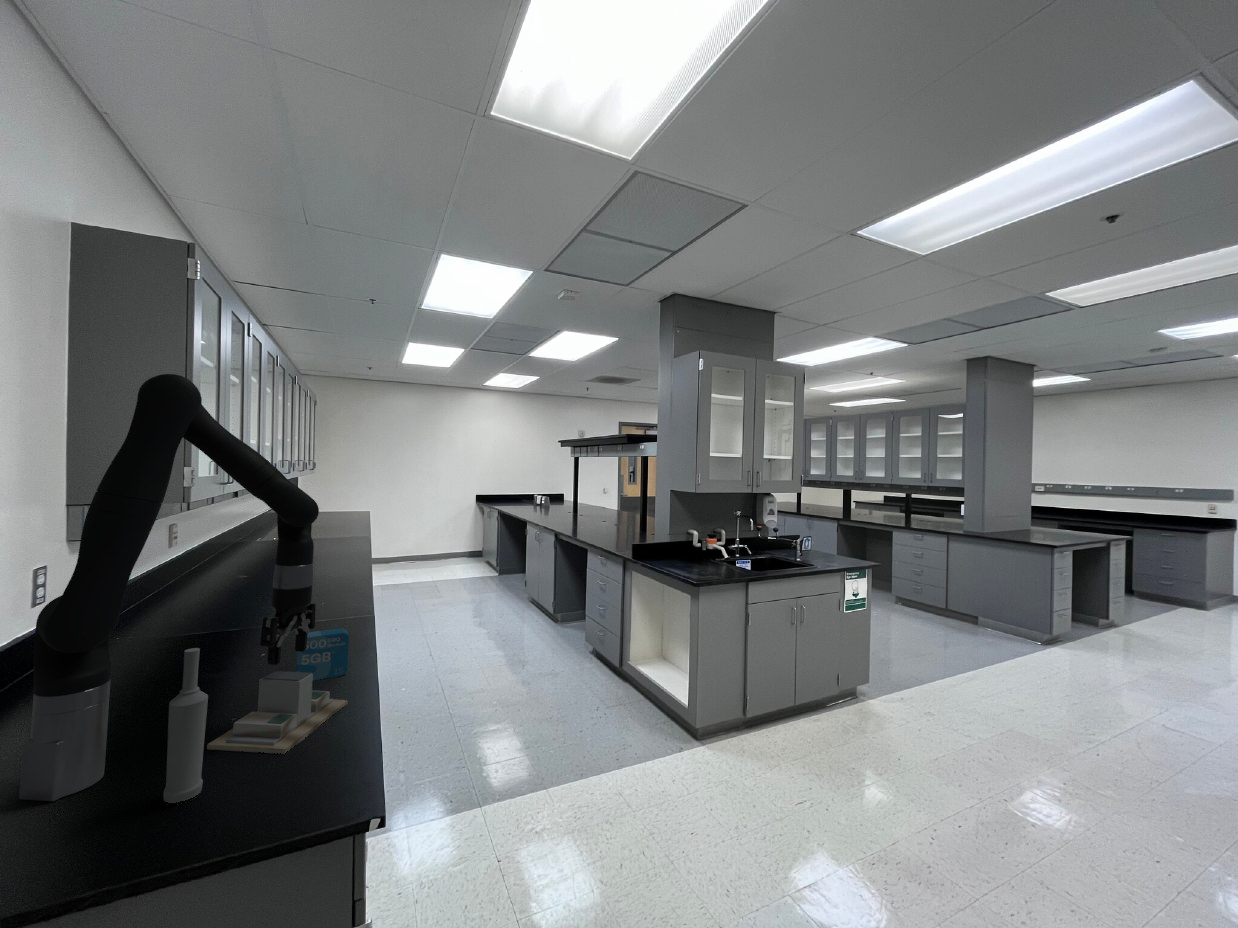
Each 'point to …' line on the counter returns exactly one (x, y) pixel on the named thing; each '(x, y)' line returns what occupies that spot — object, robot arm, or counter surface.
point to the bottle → (186, 735)
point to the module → (286, 693)
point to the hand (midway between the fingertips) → (287, 657)
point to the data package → (325, 654)
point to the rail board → (285, 741)
